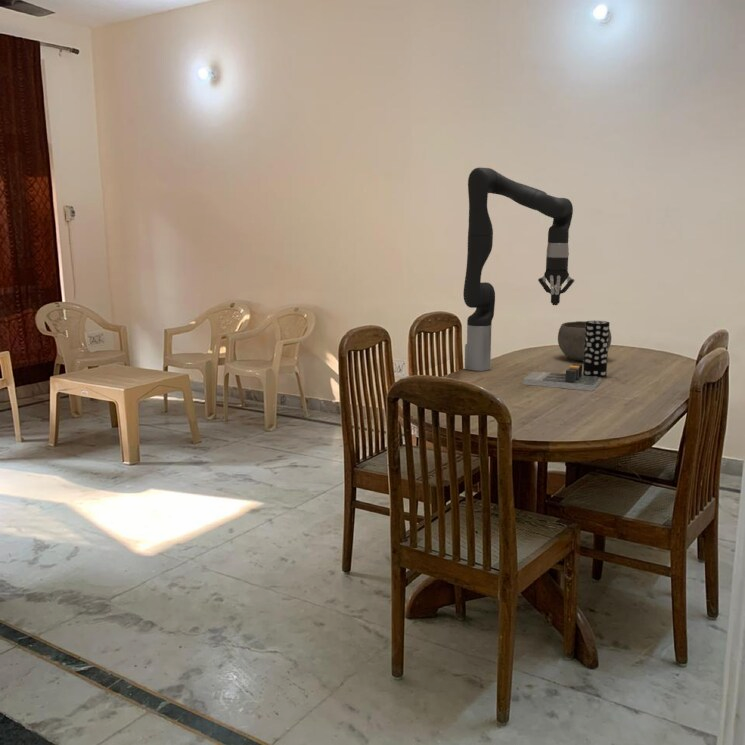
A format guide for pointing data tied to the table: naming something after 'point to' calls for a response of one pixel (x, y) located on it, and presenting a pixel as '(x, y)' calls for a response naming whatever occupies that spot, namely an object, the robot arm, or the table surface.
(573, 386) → the panel
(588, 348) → the spotted tube
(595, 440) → the table surface
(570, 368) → the block
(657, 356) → the table surface
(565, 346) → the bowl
